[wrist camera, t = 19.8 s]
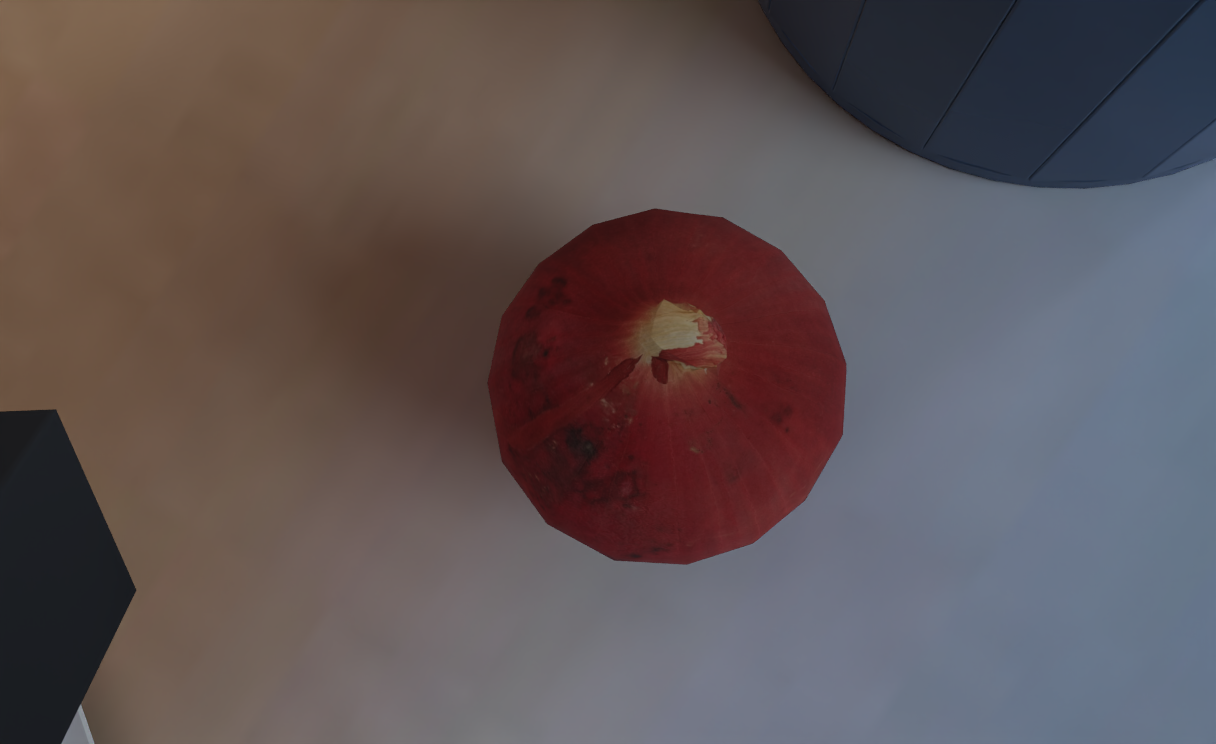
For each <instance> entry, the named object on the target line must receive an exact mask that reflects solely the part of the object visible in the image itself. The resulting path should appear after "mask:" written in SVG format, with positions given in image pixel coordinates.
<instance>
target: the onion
mask: <svg viewBox="0 0 1216 744" xmlns="http://www.w3.org/2000/svg"><path fill="white" fill-rule="evenodd" d="M845 387H846V362H845V359H844V356H843V353H842V350H841V347H840V344H839V341H838V339H837V336H836V333H835V330H834V327H833V324H832V321H831V318H830V315H829V313H828V310H827V307H826V304H825V301H824V300H823V299H822V297H821V296H820V295H819V294H818V293H817V292H816V290H815V289H814V288H813V287H812V286H811V285H810V283H809V282H808V281H807V280H806V279H805V278H804V276H803V275H802V274H801V273H800V272H799V271H798V269H797V268H796V267H795V266H794V265H793V263H792V262H791V261H790V260H789V259H788V258H787V256H786V255H785V254H784V253H783V252H782V251H781V250H779V249H778V248H776V247H774V246H772V245H771V244H769V243H767V242H765V241H764V240H762V239H760V238H758V237H756V236H755V235H753V234H751V233H749V232H748V231H746V230H744V229H742V228H741V227H739V226H737V225H735V224H733V223H732V222H730V221H728V220H726V219H725V218H723V217H715V216H706V215H698V214H690V213H683V212H676V211H669V210H662V209H651V210H647V211H644V212H640V213H636V214H632V215H628V216H624V217H621V218H617V219H613V220H609V221H605V222H602V223H598V224H594V225H592V226H590V227H589V228H588V229H586V230H585V231H583V232H582V233H581V234H579V235H578V236H577V237H575V238H574V239H572V240H571V241H570V242H568V243H567V244H566V245H564V246H563V247H561V248H560V249H559V250H557V251H556V252H555V253H553V254H552V255H550V256H549V257H548V258H546V259H545V260H544V261H542V262H541V263H539V264H538V266H537V267H536V268H535V270H534V271H533V273H532V274H531V276H530V277H529V278H528V280H527V281H526V283H525V284H524V285H523V287H522V288H521V290H520V291H519V293H518V294H517V295H516V297H515V298H514V300H513V301H512V302H511V304H510V305H509V307H508V308H507V310H506V311H505V312H504V314H503V315H502V318H501V322H500V327H499V332H498V336H497V341H496V346H495V350H494V355H493V359H492V364H491V369H490V373H489V378H488V388H489V394H490V399H491V405H492V410H493V415H494V421H495V426H496V431H497V437H498V442H499V448H500V453H501V458H502V462H503V464H504V465H505V466H506V468H507V469H508V471H509V472H510V473H511V475H512V476H513V478H514V479H515V480H516V482H517V483H518V484H519V486H520V487H521V489H522V490H523V491H524V493H525V494H526V495H527V497H528V498H529V500H530V501H531V502H532V504H533V505H534V506H535V508H536V509H537V511H538V512H539V513H540V515H541V516H542V517H543V519H544V520H545V522H546V523H547V524H548V525H550V526H552V527H554V528H556V529H557V530H559V531H561V532H563V533H565V534H567V535H568V536H570V537H572V538H574V539H576V540H578V541H579V542H581V543H583V544H585V545H587V546H589V547H590V548H592V549H594V550H596V551H598V552H600V553H602V554H603V555H605V556H607V557H609V558H611V559H613V560H616V561H633V562H651V563H668V564H686V565H687V564H690V563H693V562H696V561H699V560H702V559H706V558H709V557H712V556H715V555H718V554H721V553H724V552H728V551H731V550H734V549H737V548H740V547H743V546H746V545H749V544H753V543H754V542H755V541H757V540H758V539H759V538H760V537H761V536H763V535H764V534H765V533H766V532H767V531H769V530H770V529H771V528H772V527H773V526H775V525H776V524H777V523H778V522H779V521H781V520H782V519H783V518H784V517H785V516H787V515H788V514H789V513H790V512H791V511H793V510H794V509H795V508H796V507H797V506H799V505H800V504H801V503H802V502H804V501H805V499H806V498H807V496H808V494H809V493H810V491H811V489H812V487H813V486H814V484H815V482H816V480H817V479H818V477H819V475H820V474H821V472H822V470H823V468H824V467H825V465H826V463H827V461H828V460H829V458H830V456H831V455H832V453H833V451H834V449H835V448H836V446H837V444H838V442H839V441H840V439H841V437H842V435H843V421H844V404H845Z"/></svg>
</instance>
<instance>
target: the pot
mask: <svg viewBox="0 0 1216 744" xmlns="http://www.w3.org/2000/svg"><path fill="white" fill-rule="evenodd" d="M759 3H760V5H761V8H762V9H763V11H764V13H765V14H766V16H767V18H768V20H769V21H770V23H771V25H772V26H773V28H774V30H775V31H776V33H777V35H778V36H779V38H780V40H781V42H782V43H783V44H784V46H785V47H786V48H787V49H788V51H789V52H790V53H791V54H792V56H793V57H794V58H795V60H796V61H797V62H798V63H799V65H800V66H801V67H802V68H803V70H804V71H805V72H806V73H807V75H808V76H809V77H810V78H811V79H812V80H813V81H814V82H815V83H817V84H818V85H819V86H820V87H821V88H822V89H823V90H824V91H825V92H826V93H827V94H828V95H829V96H830V97H831V98H832V99H833V100H834V101H835V102H836V103H837V104H838V105H839V106H841V107H842V108H843V109H845V110H846V111H847V112H849V113H850V114H852V115H853V116H854V117H856V118H857V119H858V120H860V121H861V122H862V123H864V124H865V125H866V126H868V127H869V128H870V129H872V130H873V131H875V132H877V133H878V134H880V135H882V136H884V137H885V138H887V139H889V140H891V141H892V142H894V143H896V144H898V145H899V146H901V147H903V148H905V149H906V150H908V151H910V152H912V153H915V154H917V155H920V156H922V157H924V158H927V159H929V160H932V161H934V162H936V163H939V164H941V165H944V166H946V167H948V168H951V169H955V170H958V171H962V172H965V173H969V174H973V175H976V176H980V177H983V178H987V179H991V180H994V181H1001V182H1007V183H1014V184H1021V185H1027V186H1034V187H1049V188H1094V187H1104V186H1114V185H1124V184H1131V183H1136V182H1140V181H1145V180H1149V179H1154V178H1158V177H1162V176H1167V175H1171V174H1174V173H1177V172H1180V171H1183V170H1185V169H1188V168H1191V167H1194V166H1196V165H1199V164H1202V163H1205V162H1207V161H1210V160H1213V159H1215V158H1216V0H759Z"/></svg>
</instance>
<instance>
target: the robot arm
mask: <svg viewBox="0 0 1216 744" xmlns="http://www.w3.org/2000/svg"><path fill="white" fill-rule="evenodd" d="M135 592H136V588H135V586H134V584H133V581H132V579H131V577H130V575H129V572H128V570H127V568H126V566H125V563H124V561H123V559H122V557H121V554H120V552H119V550H118V548H117V546H116V543H115V541H114V539H113V537H112V534H111V532H110V530H109V528H108V525H107V523H106V521H105V519H104V516H103V514H102V512H101V510H100V507H99V505H98V503H97V501H96V498H95V496H94V494H93V492H92V489H91V487H90V485H89V483H88V480H87V478H86V476H85V474H84V471H83V469H82V467H81V465H80V462H79V460H78V458H77V456H76V453H75V451H74V449H73V447H72V444H71V442H70V440H69V438H68V435H67V433H66V431H65V429H64V426H63V424H62V422H61V420H60V417H59V415H58V413H57V411H56V410H31V411H7V412H0V744H61V743H62V741H63V739H64V737H65V735H66V733H67V731H68V729H69V727H70V725H71V723H72V721H73V719H74V717H75V715H76V713H77V711H78V708H79V706H80V704H81V702H82V700H83V698H84V696H85V694H86V692H87V690H88V688H89V686H90V684H91V682H92V680H93V678H94V676H95V674H96V672H97V670H98V668H99V666H100V663H101V661H102V659H103V657H104V655H105V653H106V651H107V649H108V647H109V645H110V643H111V641H112V639H113V637H114V635H115V633H116V631H117V629H118V627H119V625H120V623H121V621H122V618H123V616H124V614H125V612H126V610H127V608H128V606H129V604H130V602H131V600H132V598H133V596H134V594H135Z"/></svg>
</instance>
